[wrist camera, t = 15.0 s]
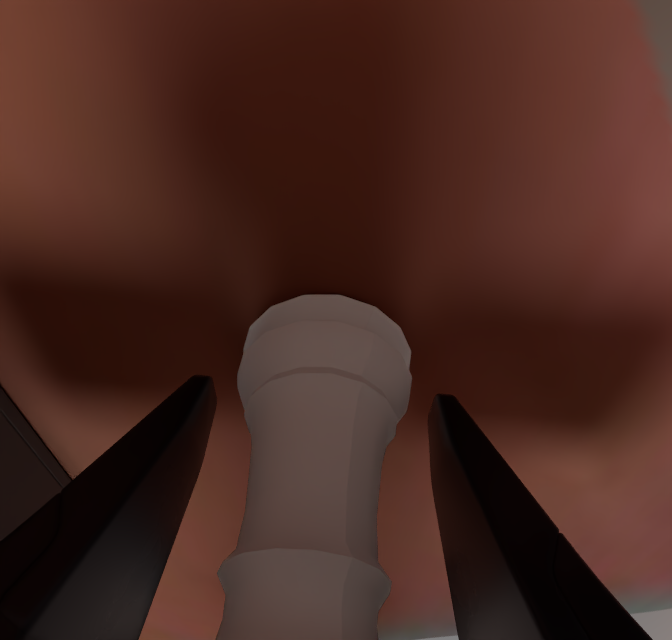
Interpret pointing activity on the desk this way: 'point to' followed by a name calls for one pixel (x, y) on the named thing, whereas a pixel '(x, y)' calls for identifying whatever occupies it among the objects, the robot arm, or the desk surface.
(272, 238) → the desk surface
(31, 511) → the carton
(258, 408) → the rook chess piece
